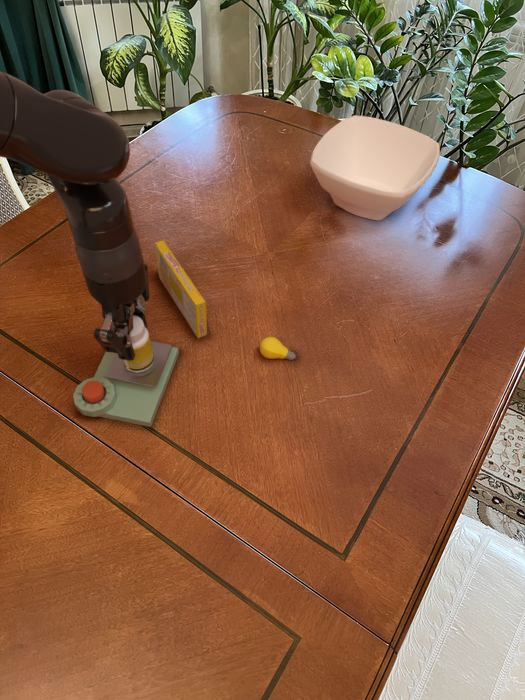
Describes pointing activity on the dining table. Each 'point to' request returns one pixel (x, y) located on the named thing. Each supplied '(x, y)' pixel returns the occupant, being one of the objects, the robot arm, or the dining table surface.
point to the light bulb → (275, 349)
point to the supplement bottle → (139, 347)
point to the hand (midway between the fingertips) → (133, 343)
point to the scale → (125, 395)
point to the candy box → (181, 289)
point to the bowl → (373, 165)
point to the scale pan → (145, 377)
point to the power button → (93, 392)
